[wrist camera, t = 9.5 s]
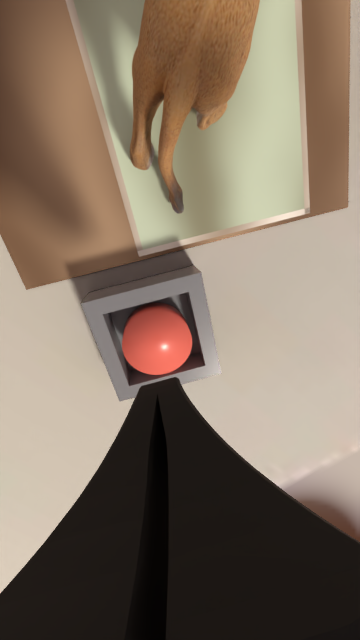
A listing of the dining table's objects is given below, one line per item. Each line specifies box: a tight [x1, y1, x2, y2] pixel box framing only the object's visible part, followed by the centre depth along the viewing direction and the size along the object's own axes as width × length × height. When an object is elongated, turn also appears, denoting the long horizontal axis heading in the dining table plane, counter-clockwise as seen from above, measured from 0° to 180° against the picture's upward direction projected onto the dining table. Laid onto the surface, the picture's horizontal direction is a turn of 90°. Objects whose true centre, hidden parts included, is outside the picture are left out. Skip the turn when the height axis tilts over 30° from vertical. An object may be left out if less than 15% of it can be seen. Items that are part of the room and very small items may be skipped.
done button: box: [122, 302, 192, 375], centre depth 14 cm, size 4×4×2 cm
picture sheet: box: [0, 0, 350, 290], centre depth 12 cm, size 18×15×1 cm
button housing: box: [81, 266, 222, 401], centre depth 15 cm, size 6×6×2 cm
